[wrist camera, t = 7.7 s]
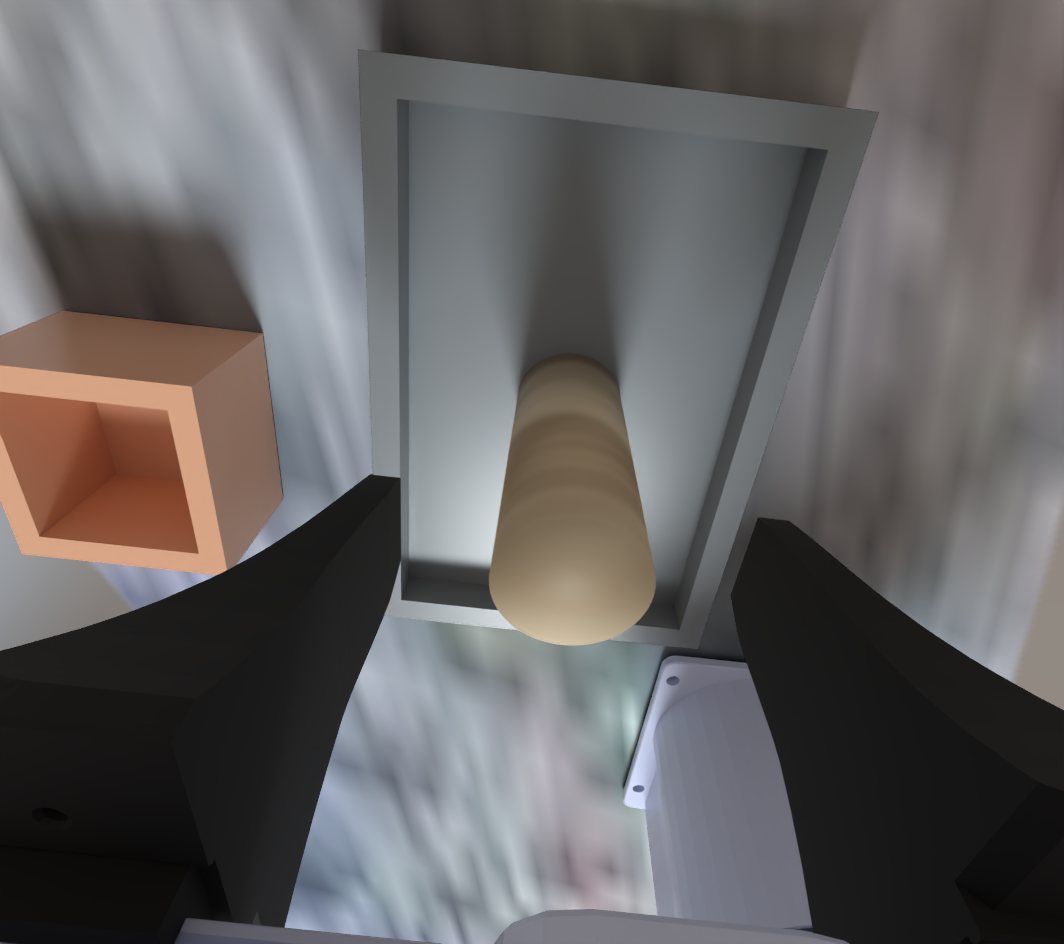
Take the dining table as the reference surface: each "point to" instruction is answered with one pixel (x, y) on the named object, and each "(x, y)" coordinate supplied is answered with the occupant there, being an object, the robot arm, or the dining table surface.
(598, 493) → the dowel
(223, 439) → the open box
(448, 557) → the tray
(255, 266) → the dining table surface
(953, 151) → the dining table surface
